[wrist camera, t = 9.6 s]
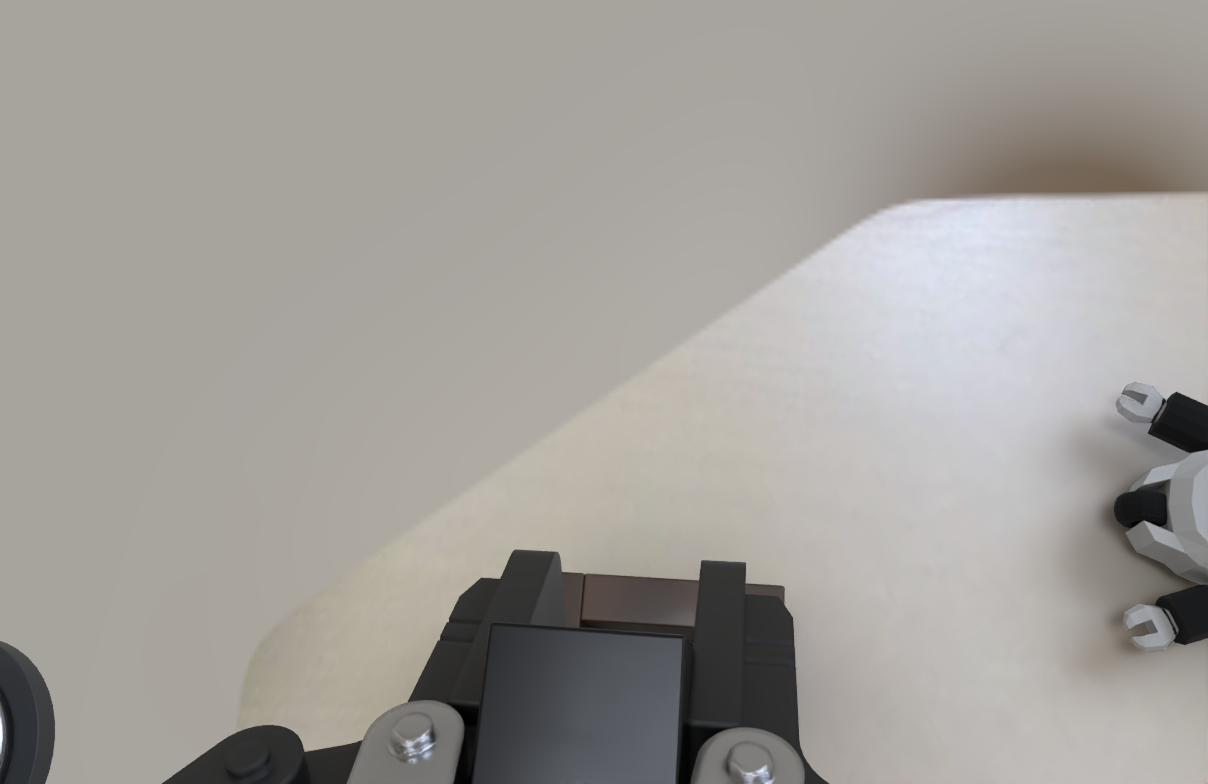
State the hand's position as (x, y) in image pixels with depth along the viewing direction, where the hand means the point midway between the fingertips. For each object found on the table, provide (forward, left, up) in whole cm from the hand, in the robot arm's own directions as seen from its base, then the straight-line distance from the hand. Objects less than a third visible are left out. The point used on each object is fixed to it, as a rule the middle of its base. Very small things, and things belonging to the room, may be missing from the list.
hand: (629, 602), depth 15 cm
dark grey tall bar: (0, -2, -11) cm, 11 cm away
